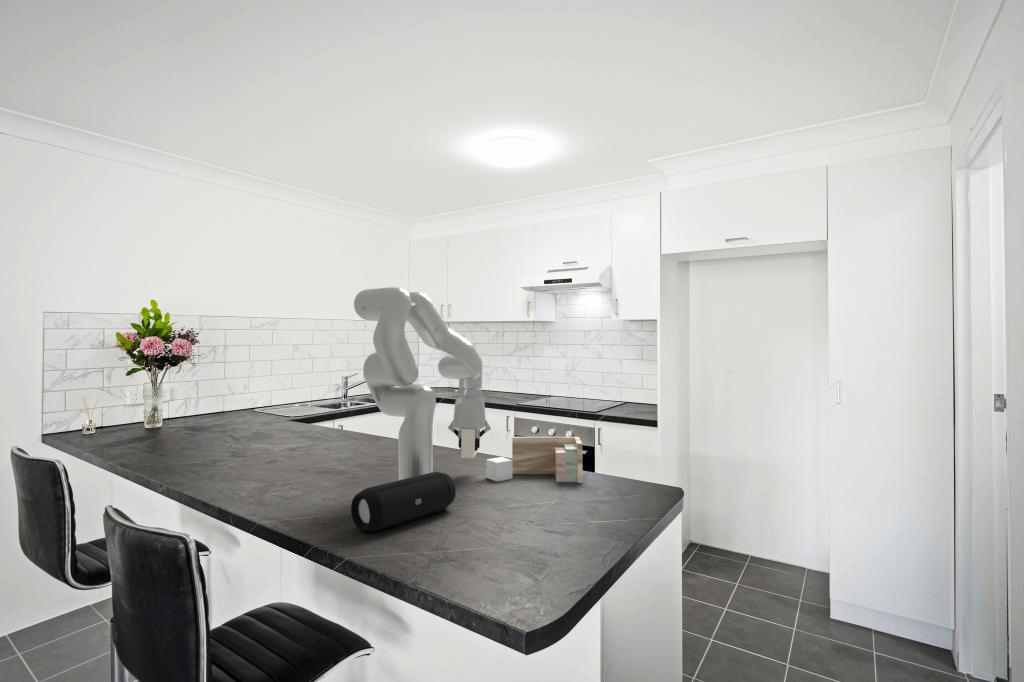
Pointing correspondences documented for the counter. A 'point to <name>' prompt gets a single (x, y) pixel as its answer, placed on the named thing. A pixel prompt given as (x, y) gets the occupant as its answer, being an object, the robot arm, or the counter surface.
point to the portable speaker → (402, 501)
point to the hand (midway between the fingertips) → (469, 449)
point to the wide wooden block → (548, 457)
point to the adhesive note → (499, 469)
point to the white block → (468, 443)
